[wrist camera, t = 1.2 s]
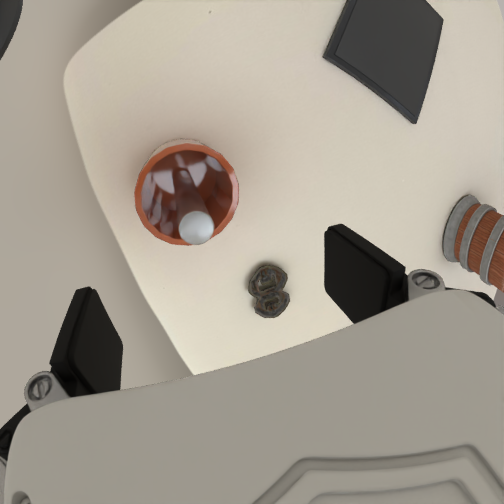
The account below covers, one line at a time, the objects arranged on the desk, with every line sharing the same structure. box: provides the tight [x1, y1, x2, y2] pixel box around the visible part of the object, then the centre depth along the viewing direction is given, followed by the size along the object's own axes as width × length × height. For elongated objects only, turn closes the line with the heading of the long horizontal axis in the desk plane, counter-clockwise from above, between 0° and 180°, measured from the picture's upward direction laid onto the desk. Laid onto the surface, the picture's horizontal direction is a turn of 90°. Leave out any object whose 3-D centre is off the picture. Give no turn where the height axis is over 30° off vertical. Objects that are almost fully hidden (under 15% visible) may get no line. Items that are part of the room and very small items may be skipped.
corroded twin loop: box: [248, 265, 290, 318], centre depth 35 cm, size 5×8×1 cm, turn 12°
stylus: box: [173, 171, 214, 245], centre depth 20 cm, size 2×2×14 cm
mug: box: [443, 195, 504, 292], centre depth 38 cm, size 14×19×15 cm
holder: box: [134, 139, 239, 246], centre depth 23 cm, size 8×8×8 cm
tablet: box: [323, 0, 443, 124], centre depth 24 cm, size 16×22×1 cm
